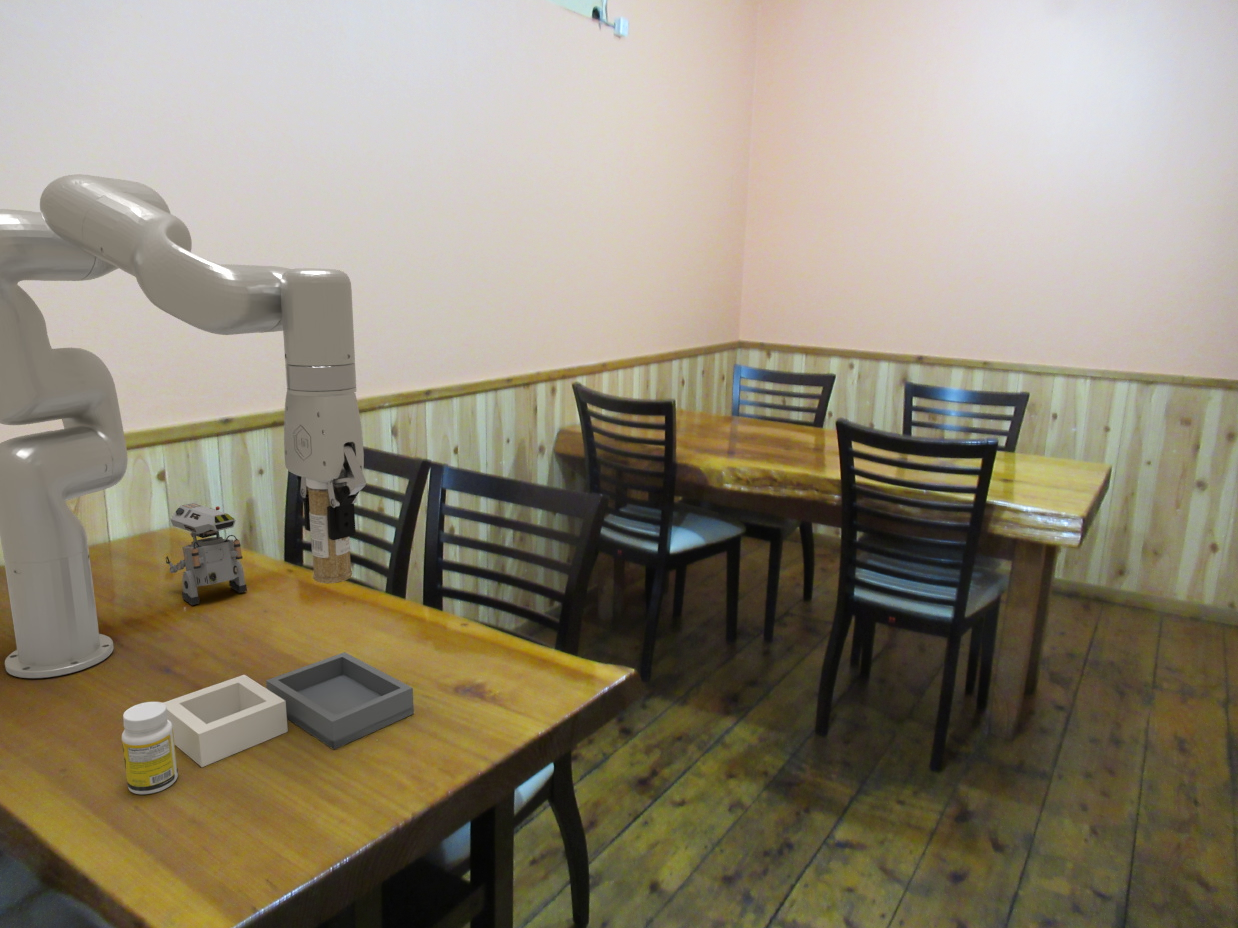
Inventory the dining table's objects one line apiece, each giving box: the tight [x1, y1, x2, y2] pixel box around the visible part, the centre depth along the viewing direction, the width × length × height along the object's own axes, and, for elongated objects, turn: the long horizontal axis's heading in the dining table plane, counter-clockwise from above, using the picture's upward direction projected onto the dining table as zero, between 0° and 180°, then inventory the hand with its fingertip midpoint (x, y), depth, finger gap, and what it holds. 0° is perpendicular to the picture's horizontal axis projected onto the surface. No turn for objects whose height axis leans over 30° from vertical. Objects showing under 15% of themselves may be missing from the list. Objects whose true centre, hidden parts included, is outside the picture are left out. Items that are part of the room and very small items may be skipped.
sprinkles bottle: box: [306, 472, 353, 584], centre depth 100 cm, size 5×5×14 cm
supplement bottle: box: [121, 701, 179, 795], centre depth 89 cm, size 5×5×8 cm
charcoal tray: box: [265, 651, 415, 750], centre depth 105 cm, size 15×11×4 cm
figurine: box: [165, 502, 248, 607], centre depth 141 cm, size 9×12×15 cm
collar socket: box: [162, 674, 289, 768], centre depth 99 cm, size 10×10×4 cm
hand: (330, 531), depth 100 cm, fingers closed on sprinkles bottle, 4 cm apart
